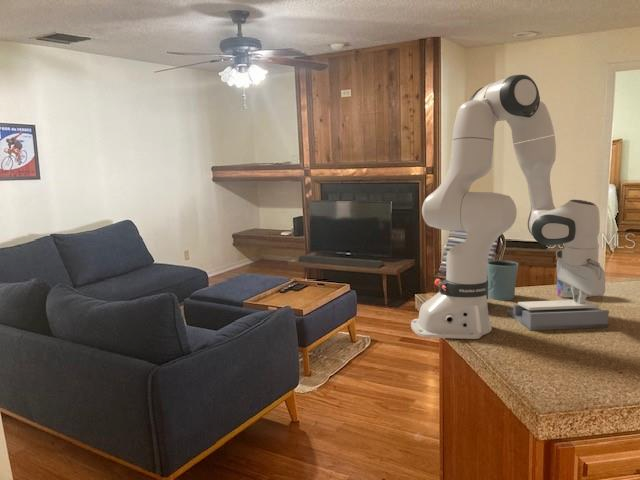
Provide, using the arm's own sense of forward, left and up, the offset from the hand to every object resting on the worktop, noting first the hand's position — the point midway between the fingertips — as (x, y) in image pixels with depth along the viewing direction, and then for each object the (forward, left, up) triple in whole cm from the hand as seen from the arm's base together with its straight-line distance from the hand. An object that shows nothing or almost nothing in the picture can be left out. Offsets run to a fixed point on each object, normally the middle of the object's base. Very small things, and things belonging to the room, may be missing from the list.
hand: (578, 302), depth 148 cm
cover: (-6, 0, -1) cm, 6 cm away
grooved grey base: (-6, +1, -5) cm, 8 cm away
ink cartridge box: (+12, +25, -6) cm, 28 cm away
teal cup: (-12, +27, -6) cm, 30 cm away
